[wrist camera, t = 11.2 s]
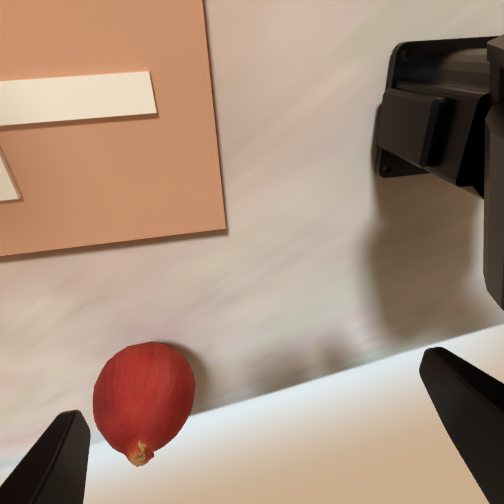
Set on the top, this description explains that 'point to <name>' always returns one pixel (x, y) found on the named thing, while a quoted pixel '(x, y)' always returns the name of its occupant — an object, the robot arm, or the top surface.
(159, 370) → the onion
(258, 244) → the top surface
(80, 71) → the letter tile
